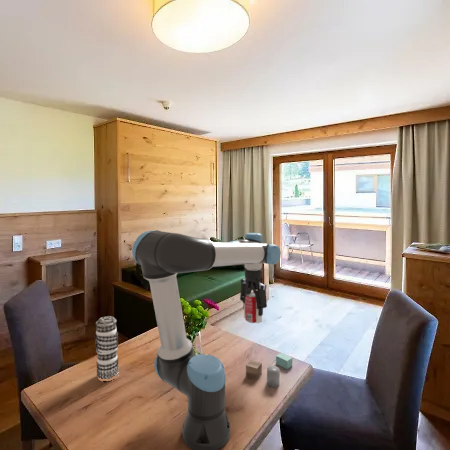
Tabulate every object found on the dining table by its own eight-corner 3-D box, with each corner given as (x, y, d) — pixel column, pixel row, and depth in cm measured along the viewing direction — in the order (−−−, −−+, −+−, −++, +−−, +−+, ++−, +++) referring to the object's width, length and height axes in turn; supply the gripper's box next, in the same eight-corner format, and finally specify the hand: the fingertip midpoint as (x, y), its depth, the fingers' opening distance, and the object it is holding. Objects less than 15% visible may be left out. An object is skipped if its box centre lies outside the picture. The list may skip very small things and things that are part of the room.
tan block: (256, 380, 124) (256, 368, 123) (245, 376, 126) (246, 365, 126) (261, 374, 128) (261, 362, 127) (251, 370, 130) (251, 359, 130)
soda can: (260, 318, 136) (261, 292, 135) (260, 324, 129) (261, 297, 128) (245, 317, 137) (245, 291, 136) (244, 323, 130) (244, 296, 129)
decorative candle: (91, 381, 123) (88, 321, 120) (105, 368, 132) (103, 313, 129) (110, 384, 120) (108, 323, 118) (123, 371, 129) (122, 315, 127)
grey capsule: (273, 388, 118) (273, 374, 117) (264, 382, 122) (264, 368, 121) (282, 384, 121) (282, 369, 120) (272, 378, 125) (272, 364, 124)
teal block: (287, 369, 131) (287, 361, 131) (275, 364, 136) (276, 355, 135) (292, 366, 134) (292, 357, 134) (281, 361, 138) (281, 352, 138)
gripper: (276, 271, 126) (275, 324, 128) (244, 263, 141) (243, 311, 143) (264, 274, 121) (263, 329, 123) (231, 265, 136) (231, 314, 138)
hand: (252, 319), depth 133 cm, fingers closed on soda can, 7 cm apart
